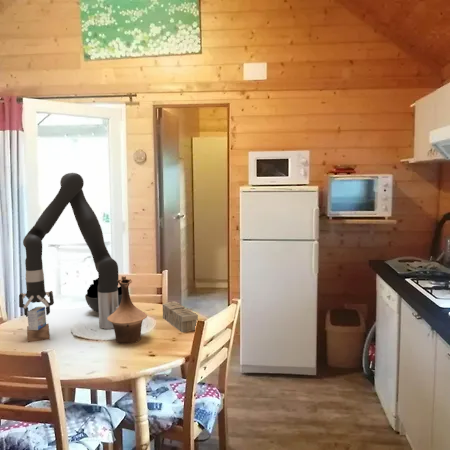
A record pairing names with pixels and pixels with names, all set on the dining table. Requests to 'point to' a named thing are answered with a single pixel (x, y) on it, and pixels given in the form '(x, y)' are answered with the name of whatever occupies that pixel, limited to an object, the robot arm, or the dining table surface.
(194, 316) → the block tower
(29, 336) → the walnut block
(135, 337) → the brown clay vase
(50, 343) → the dining table surface
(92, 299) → the bowl of black rocks
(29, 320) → the medicine box
